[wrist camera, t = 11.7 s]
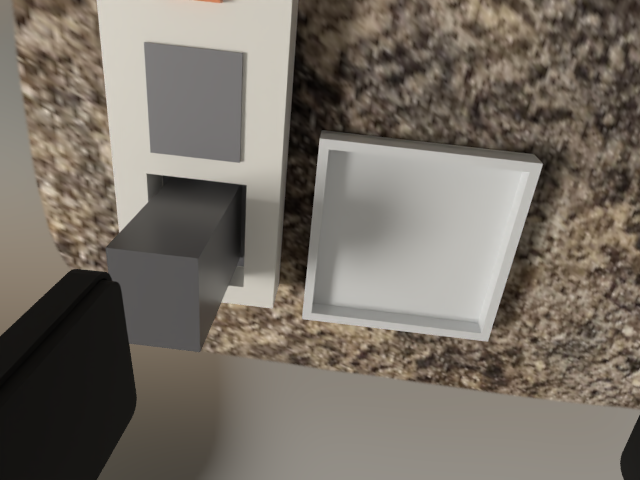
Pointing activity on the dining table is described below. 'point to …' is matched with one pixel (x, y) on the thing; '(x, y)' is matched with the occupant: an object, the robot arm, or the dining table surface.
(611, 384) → the dining table surface
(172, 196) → the plug
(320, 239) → the tray
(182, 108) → the power strip
